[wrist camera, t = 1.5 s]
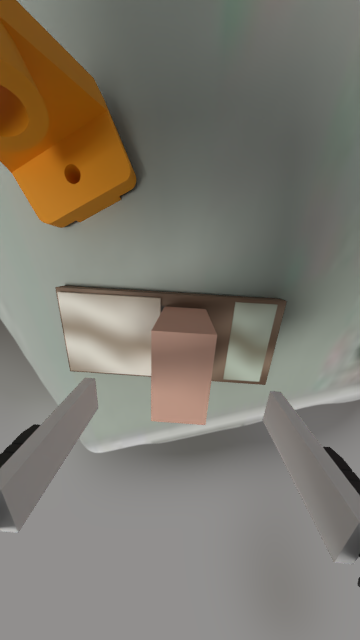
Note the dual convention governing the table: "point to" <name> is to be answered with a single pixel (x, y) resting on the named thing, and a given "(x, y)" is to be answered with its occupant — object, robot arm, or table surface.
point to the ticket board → (140, 317)
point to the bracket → (55, 126)
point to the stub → (181, 365)
